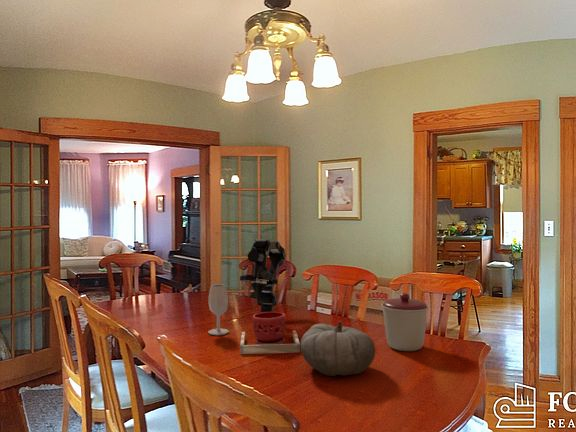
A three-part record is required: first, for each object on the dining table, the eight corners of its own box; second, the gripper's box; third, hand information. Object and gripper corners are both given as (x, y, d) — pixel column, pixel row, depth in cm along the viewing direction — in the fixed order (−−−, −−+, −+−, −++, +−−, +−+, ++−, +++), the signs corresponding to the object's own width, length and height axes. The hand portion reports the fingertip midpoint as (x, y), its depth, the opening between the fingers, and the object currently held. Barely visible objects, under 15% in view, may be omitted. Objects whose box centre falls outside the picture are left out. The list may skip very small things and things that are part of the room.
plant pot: (288, 340, 182) (287, 311, 182) (282, 350, 169) (282, 318, 169) (257, 338, 184) (256, 310, 184) (249, 348, 171) (249, 317, 171)
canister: (372, 344, 176) (371, 291, 175) (408, 338, 183) (408, 287, 182) (400, 357, 159) (400, 299, 159) (439, 351, 166) (439, 295, 166)
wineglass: (232, 332, 193) (232, 285, 193) (216, 337, 187) (216, 287, 186) (220, 329, 199) (219, 282, 199) (204, 333, 193) (203, 285, 192)
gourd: (318, 382, 130) (319, 322, 133) (286, 369, 153) (287, 317, 156) (389, 378, 140) (388, 322, 143) (348, 366, 162) (348, 318, 165)
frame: (242, 339, 184) (242, 331, 184) (295, 337, 185) (295, 330, 185) (240, 354, 165) (240, 346, 164) (300, 352, 166) (299, 344, 166)
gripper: (254, 261, 199) (251, 296, 196) (286, 266, 211) (284, 300, 207) (240, 263, 207) (237, 296, 204) (271, 267, 219) (269, 299, 215)
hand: (257, 298), depth 207 cm, fingers closed
